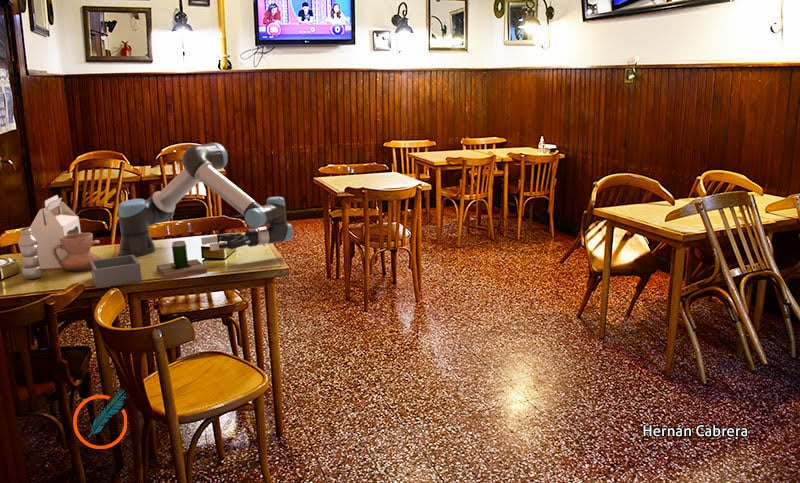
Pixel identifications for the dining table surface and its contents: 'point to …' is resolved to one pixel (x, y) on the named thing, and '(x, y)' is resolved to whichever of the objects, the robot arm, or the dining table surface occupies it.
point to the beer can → (180, 255)
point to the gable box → (53, 230)
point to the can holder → (170, 272)
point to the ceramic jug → (76, 251)
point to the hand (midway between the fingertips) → (205, 244)
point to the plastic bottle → (29, 254)
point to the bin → (115, 271)
